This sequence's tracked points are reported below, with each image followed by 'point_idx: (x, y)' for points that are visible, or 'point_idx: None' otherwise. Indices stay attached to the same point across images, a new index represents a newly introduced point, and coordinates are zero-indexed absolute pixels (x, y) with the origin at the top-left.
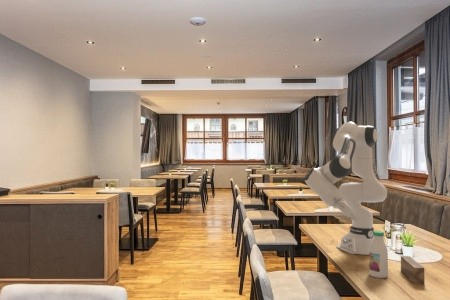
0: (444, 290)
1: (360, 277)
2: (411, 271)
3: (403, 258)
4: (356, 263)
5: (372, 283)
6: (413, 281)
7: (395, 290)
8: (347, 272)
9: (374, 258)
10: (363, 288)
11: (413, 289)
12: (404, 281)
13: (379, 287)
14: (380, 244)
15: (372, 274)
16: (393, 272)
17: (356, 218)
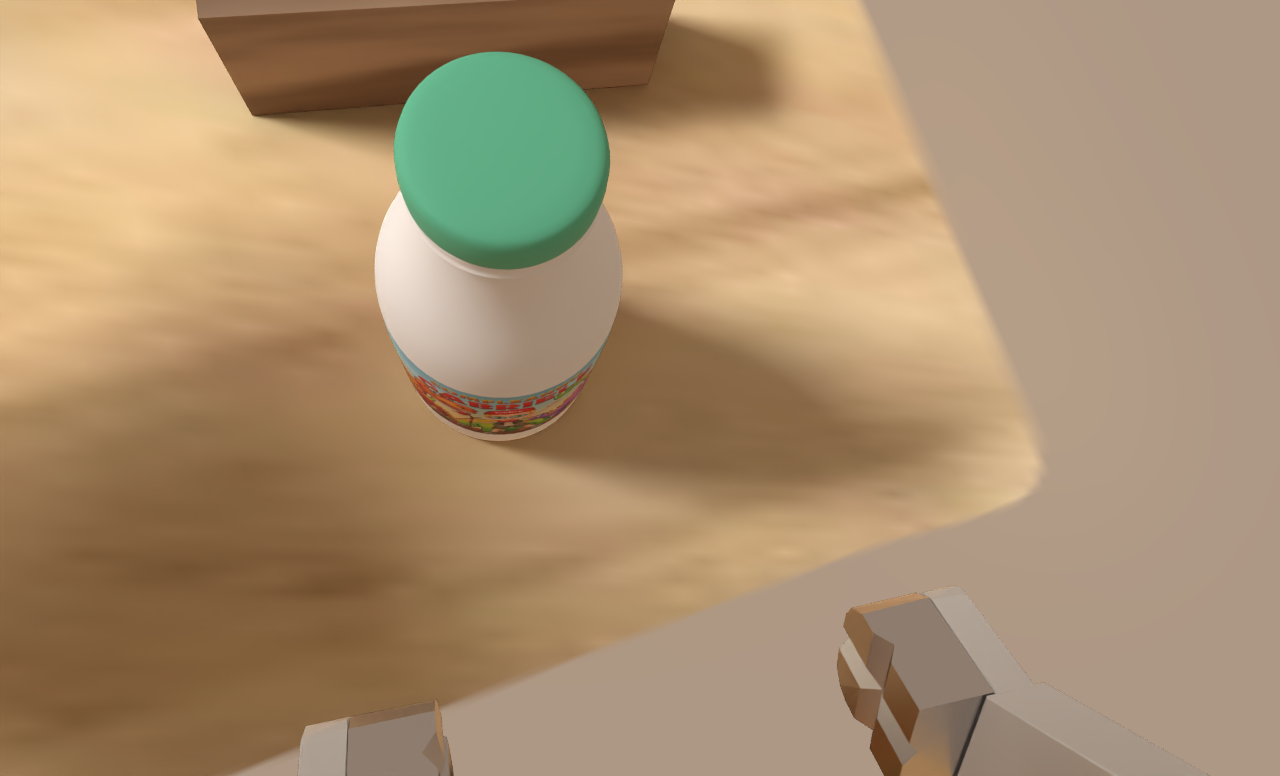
0: None
1: (614, 537)
2: (585, 37)
3: (308, 14)
4: (59, 576)
5: (754, 432)
6: (627, 77)
7: (861, 262)
8: (483, 676)
9: (597, 357)
10: (913, 517)
11: (784, 121)
12: None
13: (837, 381)
14: (599, 215)
15: (562, 414)
16: (337, 198)
17: (984, 638)
